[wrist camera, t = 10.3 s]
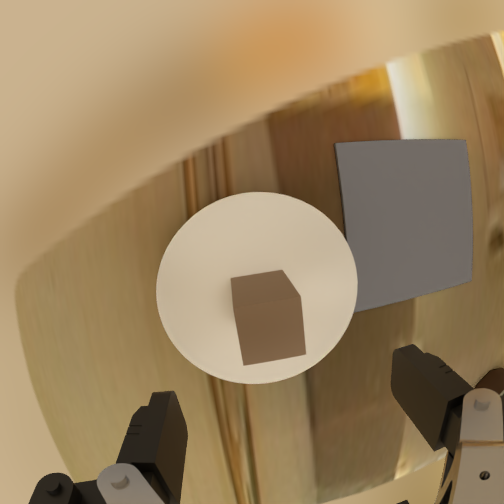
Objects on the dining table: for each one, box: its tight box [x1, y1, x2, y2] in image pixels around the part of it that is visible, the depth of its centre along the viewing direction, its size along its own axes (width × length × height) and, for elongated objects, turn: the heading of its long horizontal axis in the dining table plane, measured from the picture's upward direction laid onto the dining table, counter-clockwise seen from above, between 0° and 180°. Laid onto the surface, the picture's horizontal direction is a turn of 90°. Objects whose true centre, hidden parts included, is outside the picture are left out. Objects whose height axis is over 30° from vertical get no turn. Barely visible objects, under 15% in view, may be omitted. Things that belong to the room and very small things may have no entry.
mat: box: [334, 139, 473, 313], centre depth 27 cm, size 15×15×1 cm
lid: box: [156, 192, 358, 384], centre depth 18 cm, size 13×13×6 cm
